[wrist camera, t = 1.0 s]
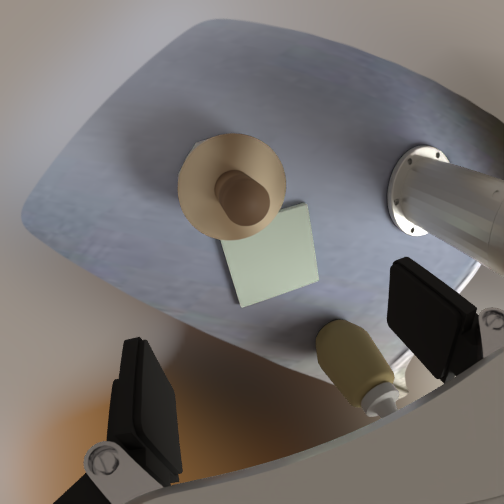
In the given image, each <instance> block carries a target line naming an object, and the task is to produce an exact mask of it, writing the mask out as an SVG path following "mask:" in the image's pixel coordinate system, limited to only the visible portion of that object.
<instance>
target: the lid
mask: <svg viewBox="0 0 504 504" xmlns="http://www.w3.org/2000/svg"><path fill="white" fill-rule="evenodd" d="M285 192H286V178H285V172H284V169H283V166H282V164H281V161H280V160H279V158H278V156H277V155H276V154H275V152H274V151H273V150H272V149H271V148H270V147H269V146H268V145H266V144H265V143H264V142H262V141H260V140H258V139H256V138H254V137H251V136H248V135H243V134H235V133H230V134H222V135H218V136H215V137H212V138H210V139H208V140H206V141H204V142H203V143H201V144H200V145H198V146H197V147H196V148H195V149H194V150H193V151H192V152H191V153H190V154H189V156H188V157H187V159H186V160H185V162H184V164H183V166H182V168H181V171H180V174H179V179H178V198H179V202H180V206H181V208H182V211H183V213H184V215H185V216H186V218H187V219H188V221H189V222H190V223H191V224H192V225H193V226H194V227H195V228H196V229H197V230H199V231H200V232H201V233H203V234H205V235H207V236H209V237H212V238H215V239H219V240H240V239H244V238H247V237H250V236H252V235H254V234H256V233H258V232H260V231H261V230H263V229H264V228H265V227H266V226H268V225H269V224H270V223H271V222H272V220H273V219H274V218H275V217H276V215H277V214H278V212H279V210H280V208H281V206H282V204H283V201H284V197H285Z"/></svg>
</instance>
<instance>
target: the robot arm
mask: <svg viewBox="0 0 504 504" xmlns="http://www.w3.org/2000/svg"><path fill="white" fill-rule="evenodd" d="M387 197H388V208H389V213H390V216H391V218H392V220H393V222H394V224H395V225H396V226H397V227H398V228H399V229H400V230H401V231H403V232H404V233H406V234H408V235H411V236H422V235H425V234H427V233H430V234H432V235H433V236H435V237H437V238H439V239H440V240H442V241H444V242H446V243H447V244H449V245H451V246H453V247H454V248H456V249H458V250H459V251H461V252H463V253H464V254H466V255H468V256H469V257H471V258H473V259H474V260H476V261H478V262H479V263H481V264H483V265H484V266H486V267H487V268H489V269H490V270H492V271H494V272H495V273H497V274H499V275H500V276H502V277H504V181H503V180H500V179H497V178H495V177H492V176H489V175H486V174H483V173H480V172H477V171H473V170H470V169H467V168H464V167H461V166H457V165H454V164H450V163H449V161H448V159H447V158H446V156H445V155H444V154H443V153H442V152H441V151H440V150H438V149H437V148H435V147H431V146H424V145H421V146H416V147H414V148H412V149H410V150H409V151H407V152H406V153H405V154H404V155H403V156H402V157H401V158H400V160H399V161H398V163H397V164H396V166H395V168H394V170H393V172H392V175H391V178H390V182H389V186H388V194H387ZM476 310H477V308H476V307H475V306H474V305H473V304H471V303H470V302H469V301H467V300H466V299H465V298H464V297H462V296H461V295H460V294H458V293H457V292H456V291H454V290H453V289H452V288H451V287H449V286H448V285H447V284H445V283H444V282H442V281H441V280H440V279H438V278H437V277H436V276H434V275H433V274H432V273H430V272H429V271H427V270H426V269H425V268H423V267H422V266H420V265H419V264H418V263H416V262H415V261H413V260H412V259H410V258H409V257H404V258H401V259H398V260H396V261H394V262H393V265H392V266H391V268H390V283H389V299H388V311H387V323H388V326H389V327H390V328H391V330H392V331H393V332H394V333H395V334H396V335H397V336H398V337H399V338H400V339H401V340H402V341H403V343H404V344H405V345H406V346H407V347H408V348H409V349H410V350H411V351H412V352H413V353H414V355H415V356H416V357H417V358H418V359H419V360H420V361H421V362H422V363H423V364H424V366H425V367H426V368H427V369H428V370H429V371H430V372H431V373H432V375H433V376H434V377H435V378H436V379H440V380H441V381H442V382H443V383H444V384H443V385H442V386H440V387H438V388H437V389H435V390H433V391H432V392H430V393H428V394H427V395H425V396H423V397H421V398H420V399H418V400H416V401H415V402H413V403H411V404H409V405H407V406H405V407H403V408H401V409H400V410H398V411H396V412H394V413H392V414H390V415H388V416H386V417H384V418H382V419H380V420H378V421H376V422H374V423H371V424H369V425H367V426H365V427H363V428H360V429H358V430H356V431H354V432H351V433H349V434H347V435H345V436H342V437H339V438H337V439H335V440H332V441H329V442H327V443H324V444H322V445H319V446H316V447H314V448H311V449H308V450H305V451H303V452H300V453H297V454H294V455H291V456H288V457H284V458H281V459H278V460H275V461H271V462H268V463H265V464H261V465H257V466H254V467H250V468H246V469H243V470H238V471H235V472H231V473H226V474H222V475H218V476H213V477H208V478H204V479H199V480H194V481H190V482H185V483H180V484H176V485H172V486H171V484H170V483H174V482H179V477H178V474H180V473H182V471H183V470H182V461H181V453H180V446H179V445H180V444H179V434H178V424H177V413H176V401H175V394H174V390H173V388H172V386H171V384H170V382H169V381H168V379H167V377H166V375H165V373H164V372H163V370H162V368H161V366H160V364H159V362H158V360H157V359H156V357H155V355H154V353H153V351H152V349H151V347H150V345H149V343H148V341H147V340H142V339H141V338H140V337H137V338H132V339H128V340H125V341H124V344H123V351H122V358H121V365H120V373H119V379H115V380H114V381H113V385H112V393H111V400H110V409H109V419H108V429H107V441H103V442H100V443H97V444H95V445H94V446H92V447H91V448H90V449H89V450H88V451H87V453H86V455H85V457H84V469H85V471H86V473H85V474H84V475H83V476H82V477H81V478H80V479H79V480H78V481H77V482H76V483H75V484H74V485H73V486H71V487H70V488H69V489H68V490H67V491H66V492H65V493H64V494H63V495H62V496H61V497H60V498H58V500H56V501H55V502H54V503H53V504H504V311H503V310H501V309H498V308H493V307H492V308H486V309H484V310H482V311H481V312H480V314H479V315H478V314H477V313H476ZM455 376H456V377H455Z"/></svg>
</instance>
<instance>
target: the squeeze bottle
mask: <svg viewBox="0 0 504 504" xmlns="http://www.w3.org/2000/svg"><path fill="white" fill-rule="evenodd" d="M316 351H317V358H318V363H319V365H320V367H321V368H322V370H323V371H324V372H325V373H326V375H327V376H328V377H329V378H330V380H331V381H332V382H333V383H334V385H335V386H336V387H337V388H338V390H339V391H340V392H341V393H342V394H343V396H344V397H345V398H346V399H347V400H348V402H349V403H350V404H351V405H352V406H354V407H362V409H363V410H364V412H365V413H366V415H367V416H370V417H373V416H377V415H379V416H380V417H381V418H384V417H386V416H388V415H390V414H392V413H394V412H396V411H398V409H397V407H396V404H395V402H396V401H397V399H398V397H399V391H398V390H397V389H396V387H395V386H394V385H393V381H394V378H395V377H394V373H393V371H392V370H391V368H390V366H389V365H388V363H387V362H386V360H385V359H384V357H383V355H382V354H381V352H380V351H379V349H378V348H377V346H376V345H375V343H374V342H373V340H372V339H371V337H370V336H369V334H368V333H367V331H365V330H364V329H363V328H361V327H359V326H357V325H355V324H353V323H350V322H348V321H346V320H340V319H339V320H335V321H332V322H330V323H328V324H327V325H325V326H324V327H323V328H322V329H321V330H320V331H319V333H318V335H317V337H316Z"/></svg>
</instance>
